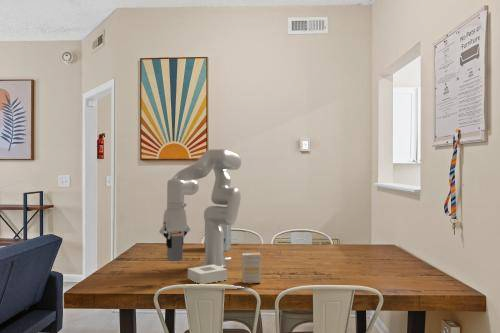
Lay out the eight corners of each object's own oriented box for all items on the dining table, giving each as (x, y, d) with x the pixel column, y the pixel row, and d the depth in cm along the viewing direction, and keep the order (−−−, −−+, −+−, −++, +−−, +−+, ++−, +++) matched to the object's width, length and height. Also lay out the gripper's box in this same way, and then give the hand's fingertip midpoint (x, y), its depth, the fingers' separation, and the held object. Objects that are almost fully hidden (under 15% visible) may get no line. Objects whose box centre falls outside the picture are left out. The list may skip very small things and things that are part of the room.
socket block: (213, 274, 195) (213, 264, 195) (227, 280, 186) (227, 269, 186) (187, 279, 187) (187, 268, 187) (200, 285, 177) (200, 273, 177)
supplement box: (259, 280, 185) (260, 252, 185) (260, 283, 180) (260, 254, 180) (241, 281, 185) (242, 252, 185) (242, 284, 180) (242, 254, 180)
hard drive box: (204, 249, 255) (204, 218, 255) (208, 247, 262) (208, 216, 263) (227, 251, 251) (227, 219, 251) (231, 249, 258) (231, 217, 258)
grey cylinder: (177, 258, 185) (177, 232, 185) (182, 260, 181) (182, 233, 181) (167, 259, 182) (167, 232, 182) (172, 261, 178) (172, 234, 178)
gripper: (188, 205, 190) (187, 243, 190) (154, 206, 180) (153, 247, 180) (196, 206, 184) (195, 246, 184) (161, 208, 174) (160, 250, 174)
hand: (174, 246), depth 182 cm, fingers closed on grey cylinder, 5 cm apart
